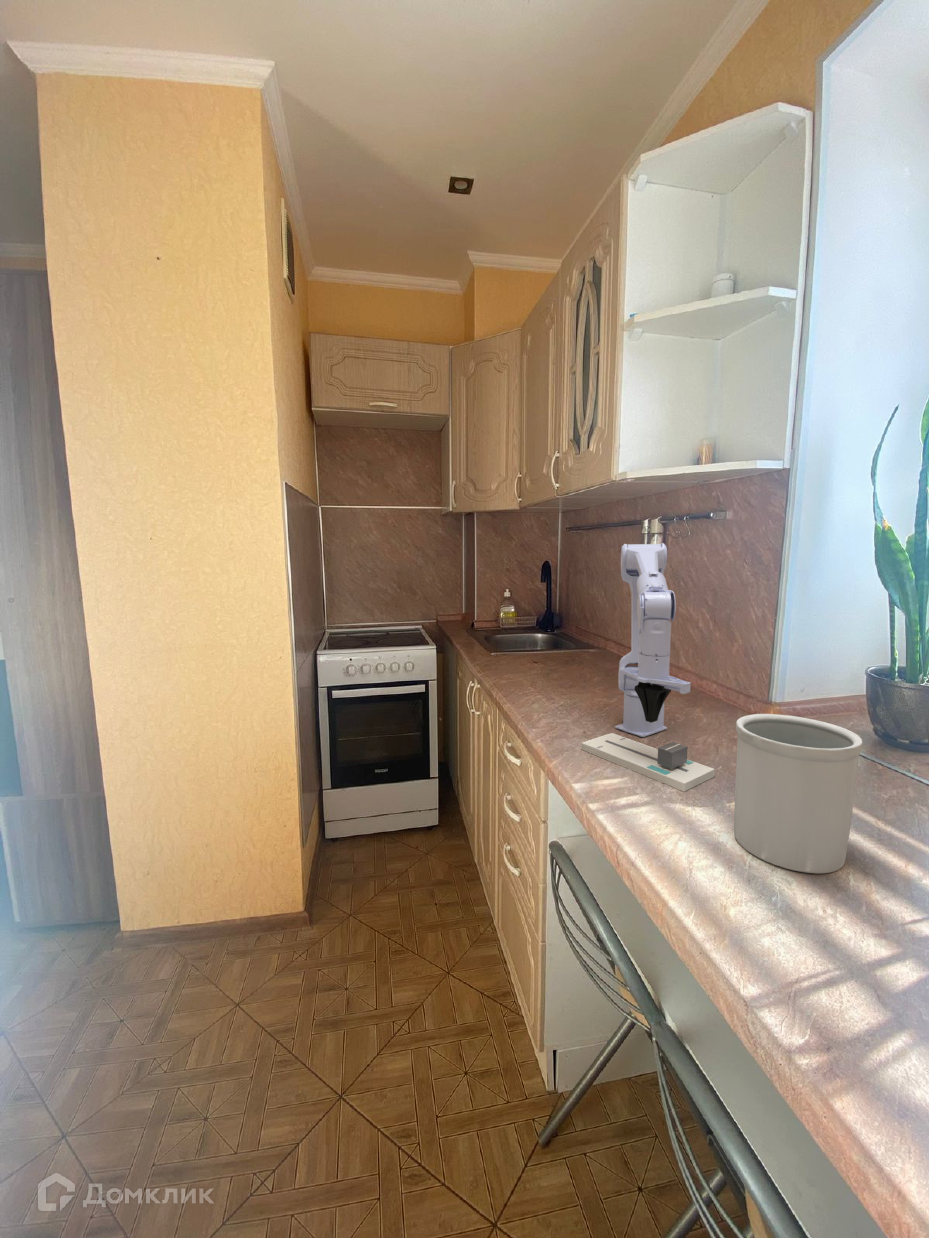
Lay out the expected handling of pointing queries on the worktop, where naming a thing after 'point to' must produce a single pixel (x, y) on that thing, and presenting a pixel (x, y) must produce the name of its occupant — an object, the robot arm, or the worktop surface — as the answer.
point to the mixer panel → (647, 761)
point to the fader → (672, 755)
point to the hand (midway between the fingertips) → (651, 720)
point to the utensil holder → (795, 790)
